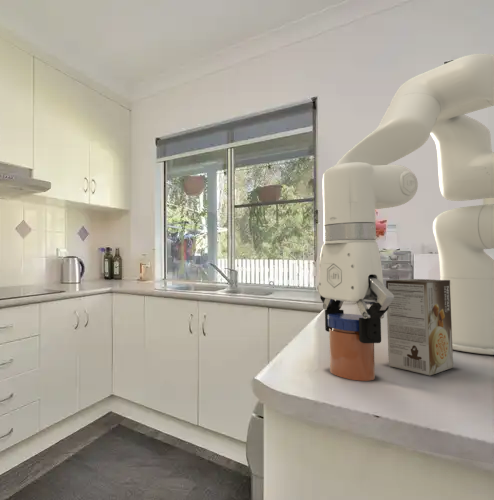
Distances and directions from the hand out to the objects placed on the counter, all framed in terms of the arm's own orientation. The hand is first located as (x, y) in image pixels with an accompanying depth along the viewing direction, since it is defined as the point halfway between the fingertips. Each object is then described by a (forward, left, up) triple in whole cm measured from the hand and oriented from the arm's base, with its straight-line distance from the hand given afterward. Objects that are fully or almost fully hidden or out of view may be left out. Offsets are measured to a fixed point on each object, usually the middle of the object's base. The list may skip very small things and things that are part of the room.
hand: (351, 336), depth 58 cm
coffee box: (-10, +12, -7) cm, 17 cm away
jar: (0, 0, -7) cm, 7 cm away
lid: (0, 0, +3) cm, 3 cm away
